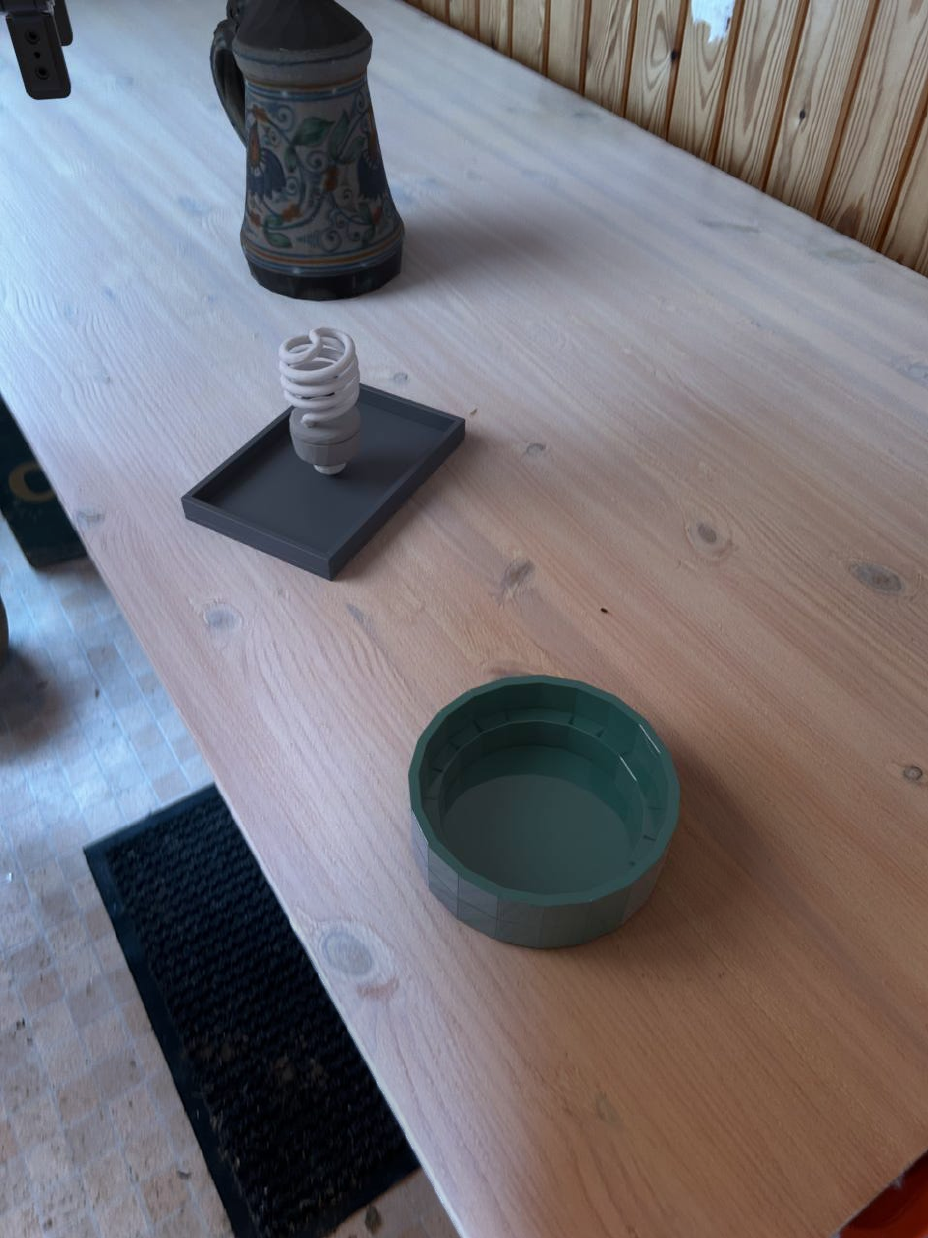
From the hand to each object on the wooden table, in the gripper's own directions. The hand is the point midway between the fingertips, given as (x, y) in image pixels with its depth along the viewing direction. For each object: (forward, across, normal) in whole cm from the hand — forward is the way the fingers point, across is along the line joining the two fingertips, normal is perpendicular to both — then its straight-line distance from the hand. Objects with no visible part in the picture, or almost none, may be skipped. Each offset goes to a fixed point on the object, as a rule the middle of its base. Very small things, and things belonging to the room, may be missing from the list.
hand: (53, 69), depth 53 cm
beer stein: (+29, -34, +17) cm, 48 cm away
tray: (+29, +2, +13) cm, 32 cm away
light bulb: (+29, +2, +13) cm, 32 cm away
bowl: (+30, +35, +19) cm, 50 cm away
